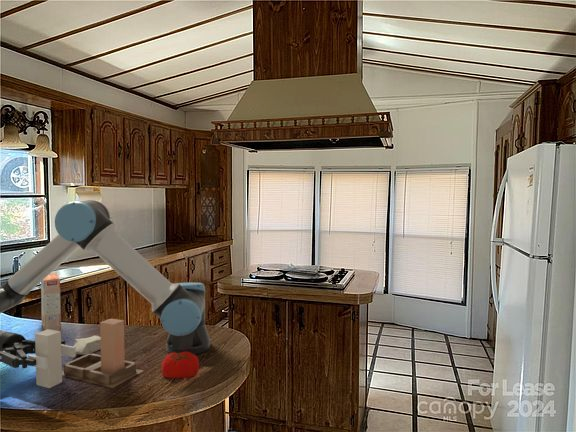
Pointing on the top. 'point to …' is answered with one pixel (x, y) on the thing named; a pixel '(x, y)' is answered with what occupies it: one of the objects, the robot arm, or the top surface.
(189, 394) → the top surface
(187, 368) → the tomato
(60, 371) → the white rectangular block
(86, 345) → the rock
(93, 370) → the rack
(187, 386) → the top surface
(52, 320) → the cracker box
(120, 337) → the salmon orange block
